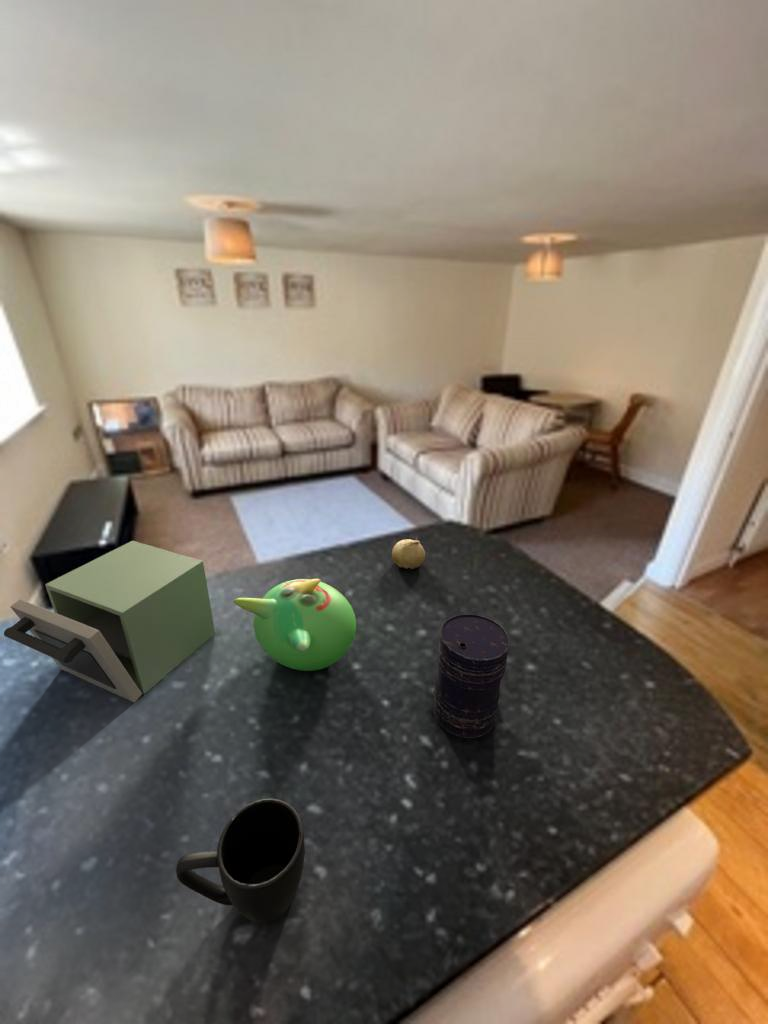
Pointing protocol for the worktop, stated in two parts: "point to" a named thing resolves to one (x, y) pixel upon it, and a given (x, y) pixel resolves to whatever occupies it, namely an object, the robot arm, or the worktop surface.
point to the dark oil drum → (469, 674)
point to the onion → (408, 554)
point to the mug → (253, 862)
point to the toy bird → (302, 623)
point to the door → (72, 648)
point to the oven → (140, 607)
